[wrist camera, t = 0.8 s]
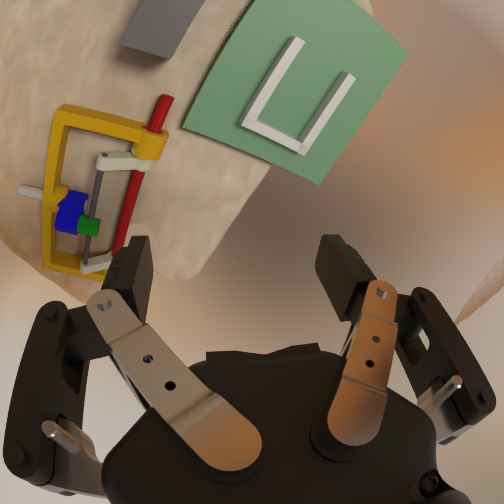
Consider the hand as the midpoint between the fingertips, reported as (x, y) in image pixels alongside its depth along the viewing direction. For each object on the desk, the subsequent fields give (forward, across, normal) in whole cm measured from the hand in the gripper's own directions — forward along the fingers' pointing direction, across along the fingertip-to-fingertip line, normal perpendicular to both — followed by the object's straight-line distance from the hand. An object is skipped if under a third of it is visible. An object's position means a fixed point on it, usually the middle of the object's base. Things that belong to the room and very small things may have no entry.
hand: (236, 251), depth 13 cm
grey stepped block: (+21, +5, -17) cm, 28 cm away
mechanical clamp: (+24, +18, +5) cm, 30 cm away
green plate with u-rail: (+23, -10, -9) cm, 27 cm away
